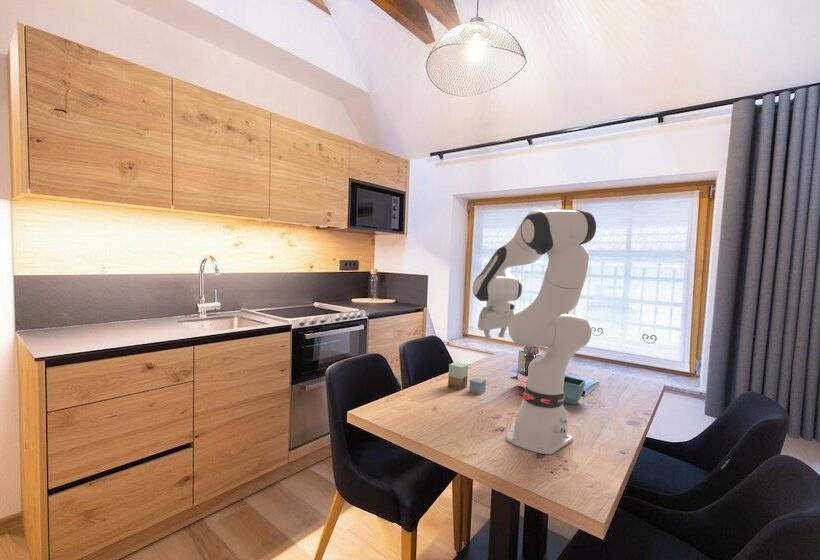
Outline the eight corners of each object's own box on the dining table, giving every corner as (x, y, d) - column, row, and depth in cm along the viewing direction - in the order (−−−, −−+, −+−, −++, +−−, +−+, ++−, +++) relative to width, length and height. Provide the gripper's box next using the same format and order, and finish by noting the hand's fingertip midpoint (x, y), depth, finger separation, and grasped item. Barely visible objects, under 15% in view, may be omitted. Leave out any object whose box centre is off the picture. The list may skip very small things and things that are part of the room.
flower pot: (578, 408, 146) (580, 385, 146) (555, 402, 151) (556, 380, 151) (583, 402, 153) (585, 380, 153) (561, 396, 158) (562, 375, 158)
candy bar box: (542, 392, 162) (544, 354, 161) (532, 393, 160) (535, 355, 159) (524, 384, 172) (527, 348, 171) (515, 385, 170) (518, 349, 169)
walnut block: (460, 390, 159) (460, 379, 159) (447, 387, 163) (448, 375, 162) (466, 387, 164) (467, 375, 164) (454, 384, 168) (455, 372, 167)
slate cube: (480, 394, 155) (480, 383, 155) (469, 391, 158) (469, 380, 158) (485, 391, 159) (486, 380, 159) (474, 389, 162) (475, 377, 162)
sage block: (460, 379, 159) (461, 367, 159) (448, 375, 162) (449, 364, 162) (467, 375, 164) (468, 364, 164) (455, 372, 167) (456, 361, 167)
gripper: (488, 308, 146) (485, 343, 147) (517, 305, 160) (514, 337, 161) (475, 306, 151) (473, 340, 152) (504, 303, 164) (502, 334, 166)
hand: (494, 338), depth 157 cm, fingers open, 8 cm apart
